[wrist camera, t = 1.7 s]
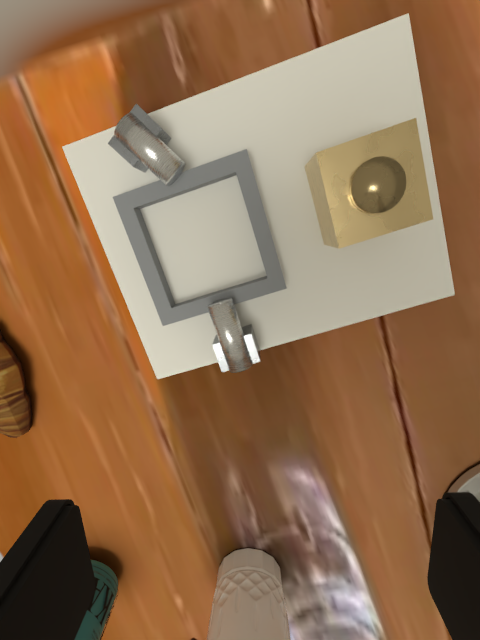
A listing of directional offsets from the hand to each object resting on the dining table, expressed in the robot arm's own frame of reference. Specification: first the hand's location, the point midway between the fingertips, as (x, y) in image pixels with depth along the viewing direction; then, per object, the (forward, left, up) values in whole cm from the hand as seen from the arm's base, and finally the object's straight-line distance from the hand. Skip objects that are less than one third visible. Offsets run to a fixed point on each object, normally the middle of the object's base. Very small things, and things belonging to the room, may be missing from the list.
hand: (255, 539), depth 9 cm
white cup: (-13, +25, -22) cm, 36 cm away
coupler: (-2, -12, -21) cm, 24 cm away
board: (+3, -8, -22) cm, 23 cm away
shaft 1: (+12, -8, -22) cm, 26 cm away
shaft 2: (+2, +1, -22) cm, 22 cm away
